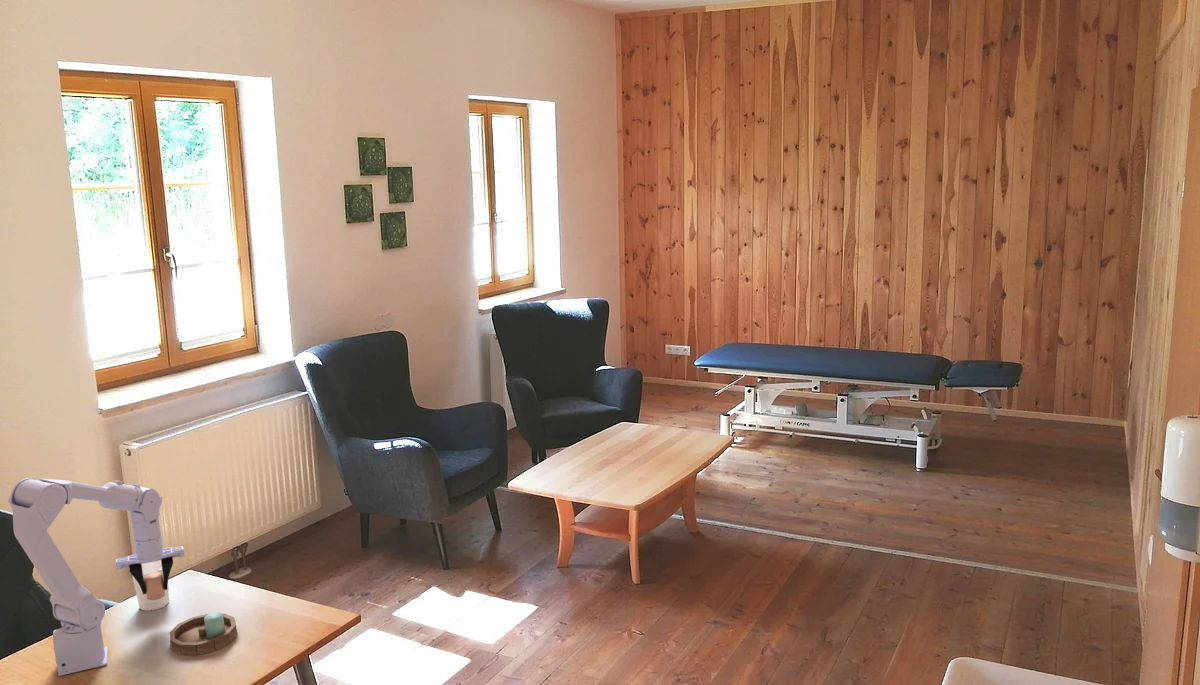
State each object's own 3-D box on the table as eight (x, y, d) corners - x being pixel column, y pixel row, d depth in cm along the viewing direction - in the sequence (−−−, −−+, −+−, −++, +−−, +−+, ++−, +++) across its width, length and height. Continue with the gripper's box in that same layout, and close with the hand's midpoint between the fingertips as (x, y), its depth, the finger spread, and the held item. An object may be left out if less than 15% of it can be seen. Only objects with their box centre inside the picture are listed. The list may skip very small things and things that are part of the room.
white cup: (158, 613, 233) (152, 575, 231) (129, 611, 235) (124, 573, 233) (178, 597, 241) (173, 561, 239) (150, 595, 243) (145, 559, 240)
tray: (172, 661, 212) (170, 650, 211) (170, 632, 224) (168, 622, 224) (239, 644, 218) (238, 634, 217) (233, 617, 230) (232, 608, 230)
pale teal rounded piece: (208, 642, 217) (205, 622, 216) (205, 635, 221) (203, 615, 219) (226, 637, 219) (224, 617, 218) (224, 630, 222) (221, 610, 221)
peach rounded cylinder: (146, 601, 225) (144, 581, 224) (146, 594, 229) (143, 575, 227) (165, 597, 227) (162, 578, 226) (164, 590, 230) (162, 571, 229)
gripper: (180, 524, 231) (187, 576, 234) (113, 536, 225) (121, 590, 228) (181, 534, 225) (189, 588, 228) (112, 548, 219) (121, 602, 222)
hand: (155, 590), depth 227 cm, fingers closed on peach rounded cylinder, 4 cm apart
